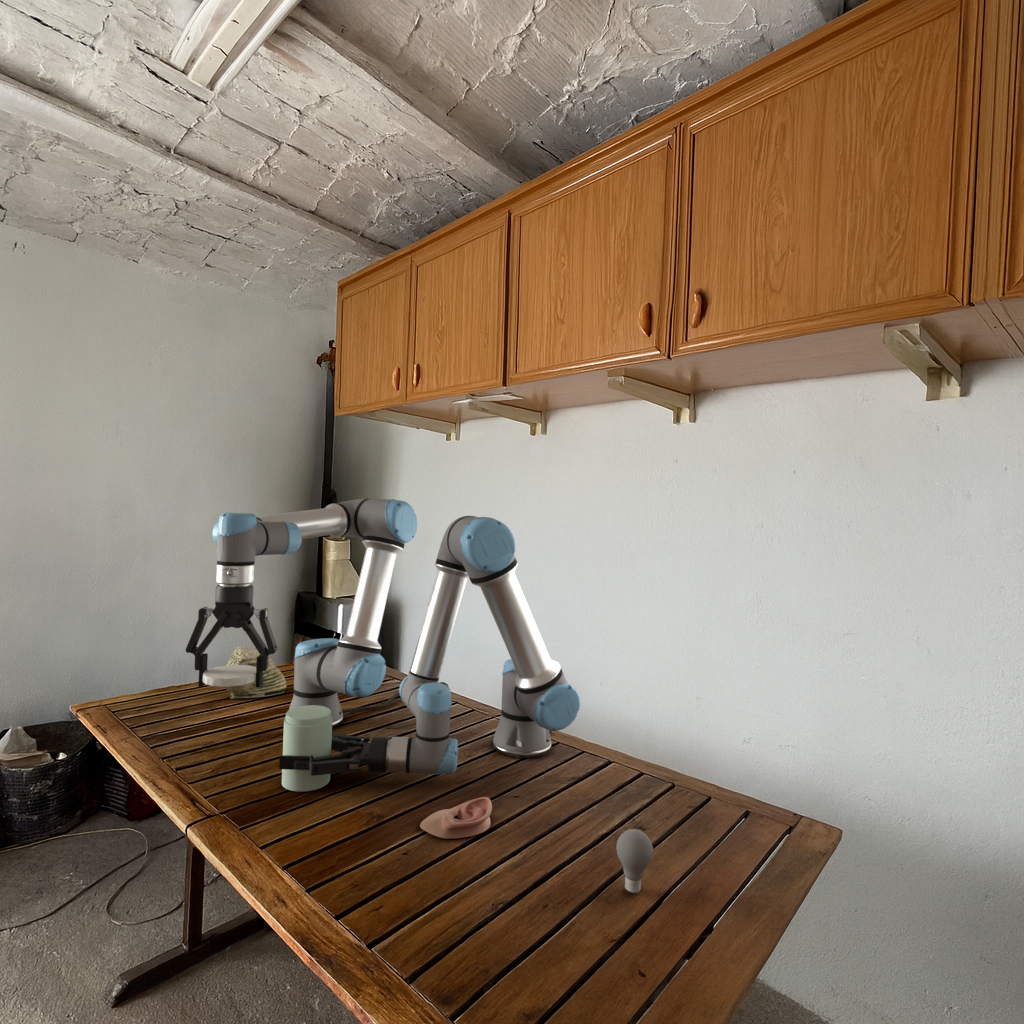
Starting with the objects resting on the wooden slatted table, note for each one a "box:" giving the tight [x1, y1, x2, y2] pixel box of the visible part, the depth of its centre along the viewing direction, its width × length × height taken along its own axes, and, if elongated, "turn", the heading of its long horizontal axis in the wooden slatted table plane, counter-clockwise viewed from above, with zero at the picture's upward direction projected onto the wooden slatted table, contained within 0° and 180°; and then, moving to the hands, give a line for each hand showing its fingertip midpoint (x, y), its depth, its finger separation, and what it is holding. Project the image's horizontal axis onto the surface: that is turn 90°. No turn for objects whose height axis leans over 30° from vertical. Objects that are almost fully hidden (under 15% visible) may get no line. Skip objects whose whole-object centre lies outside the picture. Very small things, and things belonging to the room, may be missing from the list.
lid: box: [202, 664, 256, 688], centre depth 137 cm, size 11×11×2 cm
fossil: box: [224, 646, 288, 699], centre depth 198 cm, size 9×18×15 cm, turn 132°
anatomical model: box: [419, 796, 493, 840], centre depth 124 cm, size 13×4×12 cm
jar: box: [281, 705, 333, 792], centre depth 141 cm, size 10×10×15 cm
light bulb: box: [615, 828, 654, 894], centre depth 106 cm, size 6×6×10 cm
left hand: (230, 685), depth 137 cm, fingers closed on lid, 11 cm apart
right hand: (288, 751), depth 141 cm, fingers closed on jar, 10 cm apart
